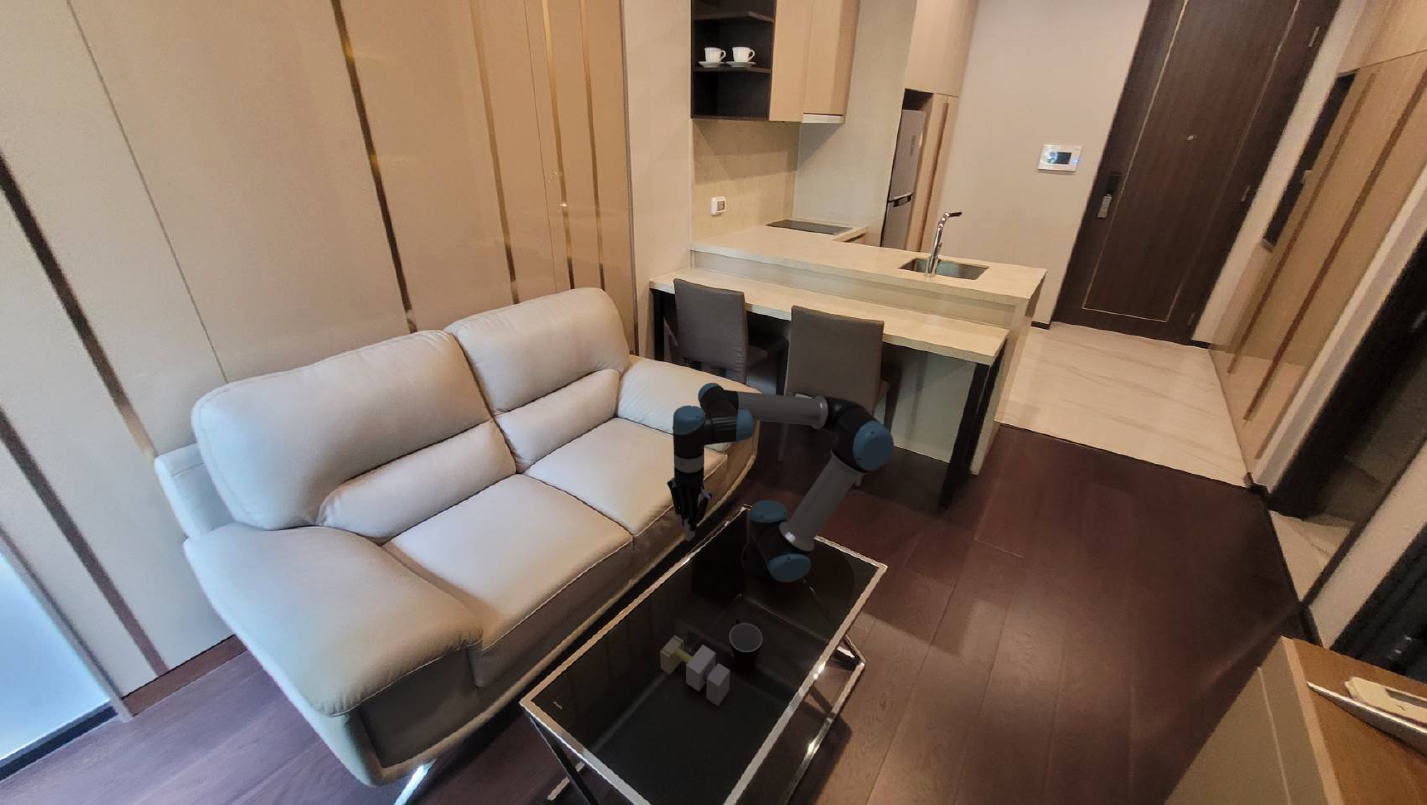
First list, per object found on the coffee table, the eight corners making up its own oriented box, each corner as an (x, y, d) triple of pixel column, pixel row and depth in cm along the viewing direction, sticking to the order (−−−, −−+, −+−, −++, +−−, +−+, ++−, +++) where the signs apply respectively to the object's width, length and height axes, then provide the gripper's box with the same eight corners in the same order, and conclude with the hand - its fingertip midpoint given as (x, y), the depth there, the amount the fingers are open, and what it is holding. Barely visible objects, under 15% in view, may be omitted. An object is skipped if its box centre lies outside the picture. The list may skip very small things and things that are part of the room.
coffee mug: (757, 680, 136) (760, 655, 131) (725, 673, 137) (726, 648, 132) (763, 641, 146) (765, 617, 141) (732, 636, 147) (734, 611, 142)
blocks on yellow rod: (660, 668, 138) (660, 648, 134) (675, 652, 142) (674, 632, 139) (716, 707, 129) (717, 687, 125) (730, 689, 133) (731, 669, 130)
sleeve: (686, 682, 132) (686, 665, 129) (702, 662, 137) (702, 644, 134) (698, 691, 130) (699, 673, 127) (715, 670, 135) (715, 652, 132)
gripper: (659, 463, 129) (662, 535, 141) (701, 482, 123) (701, 556, 134) (677, 450, 135) (679, 520, 146) (719, 467, 129) (717, 539, 140)
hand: (689, 537), depth 140 cm, fingers closed
